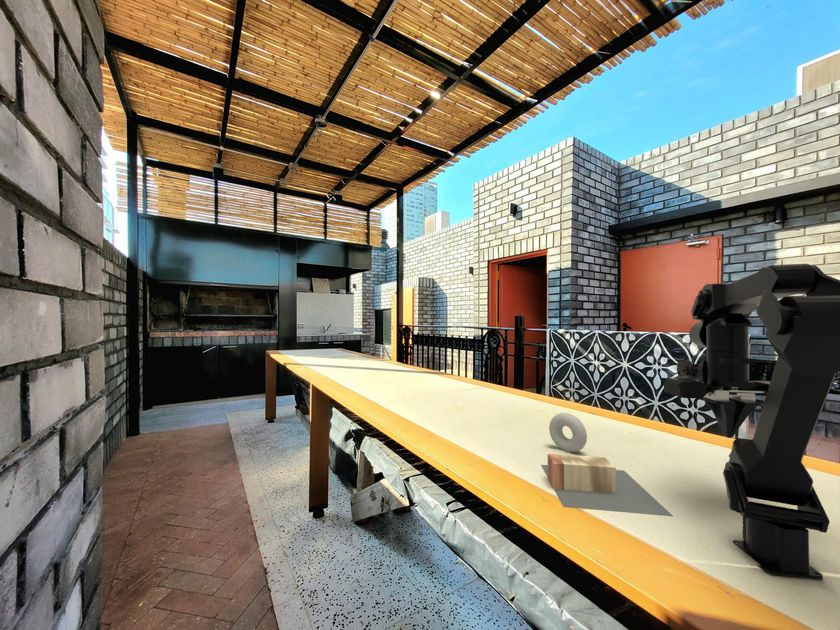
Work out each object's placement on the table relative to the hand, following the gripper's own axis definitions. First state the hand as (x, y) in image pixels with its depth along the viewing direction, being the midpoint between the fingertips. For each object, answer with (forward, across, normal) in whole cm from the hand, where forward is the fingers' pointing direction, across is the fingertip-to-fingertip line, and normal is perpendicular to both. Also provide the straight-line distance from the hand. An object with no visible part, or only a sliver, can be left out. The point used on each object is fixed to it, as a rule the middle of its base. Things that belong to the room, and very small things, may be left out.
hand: (727, 436), depth 61 cm
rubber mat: (+13, +21, -4) cm, 25 cm away
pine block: (+10, +18, -4) cm, 21 cm away
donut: (+13, +21, -24) cm, 34 cm away
